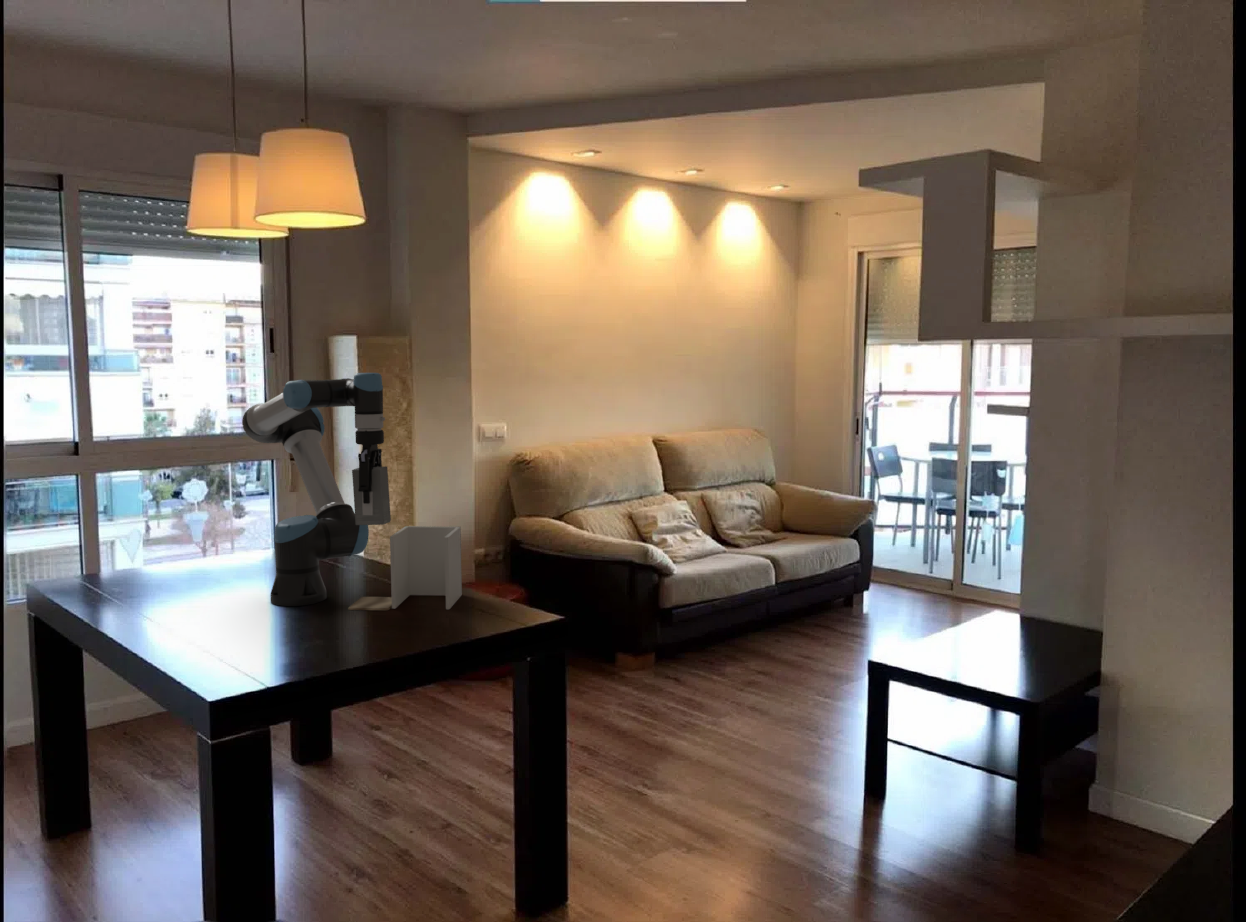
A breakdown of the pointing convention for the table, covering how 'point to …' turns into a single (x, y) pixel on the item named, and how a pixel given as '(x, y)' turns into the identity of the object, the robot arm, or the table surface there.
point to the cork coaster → (372, 603)
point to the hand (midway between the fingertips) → (371, 512)
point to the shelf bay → (426, 563)
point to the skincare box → (379, 498)
